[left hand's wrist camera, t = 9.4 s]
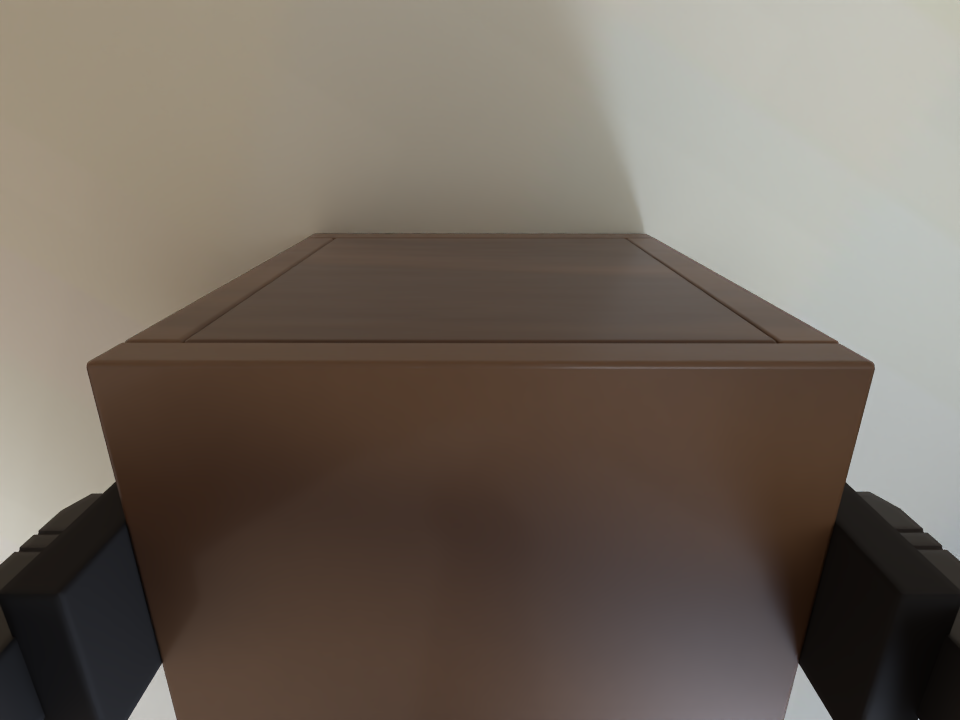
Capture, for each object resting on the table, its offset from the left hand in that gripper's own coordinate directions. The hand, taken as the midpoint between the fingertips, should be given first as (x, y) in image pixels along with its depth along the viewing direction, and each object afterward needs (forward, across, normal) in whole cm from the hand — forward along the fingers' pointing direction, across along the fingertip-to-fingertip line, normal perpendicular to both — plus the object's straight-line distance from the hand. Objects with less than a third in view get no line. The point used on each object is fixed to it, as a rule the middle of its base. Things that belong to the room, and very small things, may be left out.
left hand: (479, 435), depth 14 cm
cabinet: (+6, 0, -5) cm, 8 cm away
